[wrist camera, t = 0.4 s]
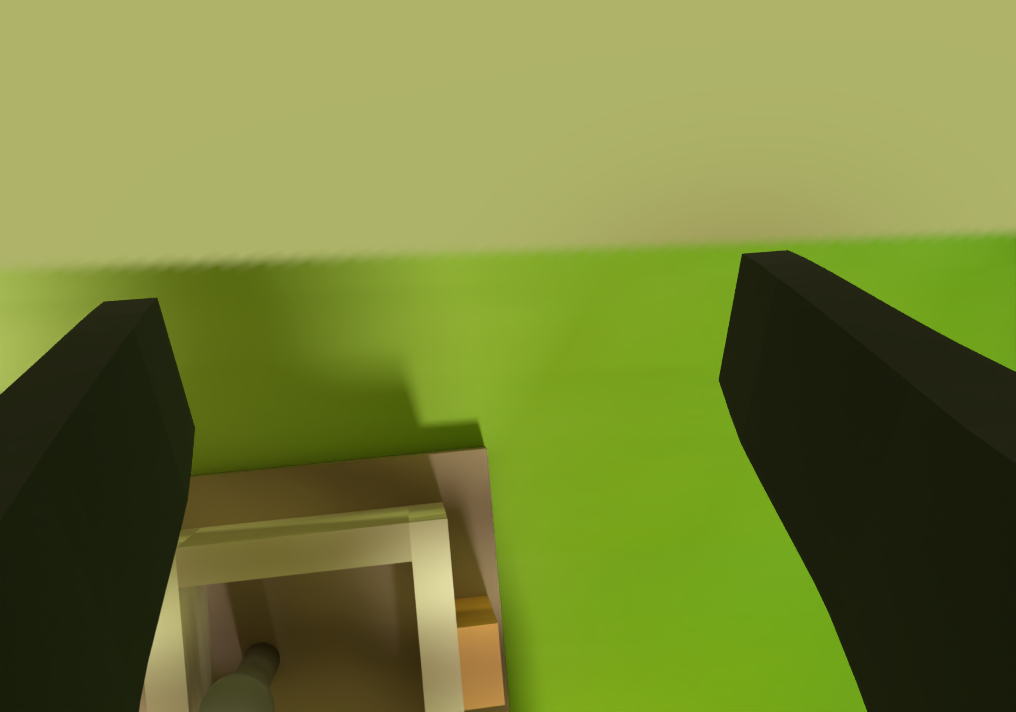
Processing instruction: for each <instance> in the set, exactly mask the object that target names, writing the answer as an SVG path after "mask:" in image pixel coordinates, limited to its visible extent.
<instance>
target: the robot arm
mask: <svg viewBox="0 0 1016 712" xmlns="http://www.w3.org/2000/svg"><path fill="white" fill-rule="evenodd" d="M719 382H720V385H721V388H722V391H723V394H724V397H725V400H726V403H727V406H728V409H729V412H730V415H731V418H732V421H733V423H734V426H735V429H736V431H737V434H738V437H739V439H740V442H741V445H742V446H743V448H744V450H745V452H746V454H747V456H748V458H749V460H750V462H751V464H752V466H753V468H754V470H755V472H756V474H757V476H758V478H759V480H760V482H761V483H762V485H763V487H764V489H765V491H766V493H767V495H768V497H769V499H770V501H771V502H772V504H773V506H774V508H775V510H776V512H777V514H778V515H779V517H780V519H781V521H782V523H783V525H784V527H785V529H786V530H787V532H788V534H789V536H790V538H791V540H792V542H793V544H794V545H795V547H796V549H797V551H798V553H799V555H800V557H801V559H802V560H803V562H804V564H805V566H806V568H807V570H808V572H809V574H810V575H811V577H812V579H813V581H814V583H815V585H816V587H817V589H818V591H819V594H820V596H821V598H822V600H823V602H824V604H825V606H826V608H827V610H828V612H829V615H830V617H831V620H832V622H833V625H834V627H835V630H836V632H837V635H838V637H839V640H840V642H841V645H842V647H843V650H844V652H845V655H846V657H847V660H848V662H849V665H850V667H851V670H852V672H853V675H854V677H855V680H856V682H857V685H858V687H859V690H860V693H861V696H862V698H863V701H864V704H865V706H866V709H867V712H1016V372H1015V371H1013V370H1011V369H1009V368H1007V367H1005V366H1003V365H1001V364H999V363H997V362H995V361H993V360H991V359H989V358H987V357H985V356H983V355H981V354H979V353H977V352H975V351H973V350H971V349H969V348H967V347H965V346H963V345H961V344H959V343H957V342H955V341H953V340H951V339H949V338H948V337H946V336H944V335H942V334H940V333H938V332H936V331H934V330H933V329H931V328H929V327H927V326H925V325H924V324H922V323H920V322H918V321H916V320H914V319H913V318H911V317H909V316H907V315H906V314H904V313H902V312H900V311H898V310H897V309H895V308H893V307H891V306H890V305H888V304H886V303H884V302H883V301H881V300H879V299H877V298H876V297H874V296H872V295H870V294H869V293H867V292H865V291H864V290H862V289H860V288H858V287H857V286H855V285H853V284H851V283H850V282H848V281H846V280H844V279H843V278H841V277H839V276H837V275H836V274H834V273H832V272H830V271H828V270H827V269H825V268H823V267H821V266H819V265H817V264H815V263H814V262H812V261H810V260H808V259H806V258H804V257H802V256H800V255H797V254H795V253H793V252H791V251H788V250H786V251H772V252H759V253H746V254H742V257H741V262H740V268H739V273H738V278H737V284H736V289H735V295H734V300H733V305H732V311H731V316H730V322H729V327H728V332H727V338H726V343H725V348H724V354H723V359H722V365H721V370H720V375H719ZM194 432H195V427H194V423H193V420H192V416H191V413H190V409H189V406H188V402H187V399H186V395H185V392H184V389H183V385H182V382H181V378H180V375H179V371H178V368H177V364H176V361H175V358H174V354H173V351H172V347H171V344H170V340H169V337H168V333H167V330H166V326H165V323H164V320H163V316H162V313H161V309H160V306H159V302H158V299H157V298H147V299H133V300H120V301H107V302H103V303H102V304H100V305H99V306H98V307H97V308H95V309H94V310H93V311H92V312H91V313H89V314H88V315H87V316H86V317H85V318H84V319H83V320H81V321H80V322H79V323H78V324H77V325H76V326H75V327H74V328H73V329H72V330H70V331H69V332H68V333H67V334H66V335H65V336H64V337H63V338H62V339H61V340H60V341H59V342H57V343H56V344H55V345H54V346H53V347H52V348H51V349H50V350H49V351H48V352H47V353H46V354H45V355H43V356H42V357H41V358H40V359H39V360H38V361H37V362H36V363H35V364H34V365H33V366H31V367H30V368H29V369H28V370H27V371H26V372H25V373H24V374H23V375H21V376H20V377H19V378H18V379H17V380H16V381H15V382H14V383H13V384H11V385H10V386H9V387H8V388H7V389H6V390H5V391H4V392H3V393H2V394H0V712H139V708H140V701H141V696H142V691H143V686H144V681H145V676H146V671H147V666H148V661H149V657H150V653H151V649H152V645H153V641H154V637H155V633H156V629H157V625H158V621H159V617H160V613H161V609H162V604H163V600H164V596H165V592H166V588H167V584H168V580H169V576H170V572H171V568H172V564H173V560H174V556H175V552H176V548H177V544H178V540H179V535H180V531H181V527H182V523H183V519H184V514H185V510H186V506H187V501H188V495H189V486H190V476H191V467H192V456H193V444H194Z"/></svg>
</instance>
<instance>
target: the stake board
mask: <svg viewBox="0 0 1016 712" xmlns="http://www.w3.org/2000/svg"><path fill="white" fill-rule="evenodd" d="M439 502H443V505H444V508H445V512H446V516H447V520H448V532H449V543H450V555H451V566H452V577H453V589H454V599H460V598H468V597H476V596H485V595H488V598H489V600H490V603H491V606H492V609H493V611H494V614H495V617H496V620H497V622H498V632H499V643H500V654H501V666H502V677H503V688H504V700H505V705H501V706H494V707H486V708H479V709H471V710H464V712H510V706H509V695H508V683H507V672H506V661H505V649H504V638H503V626H502V615H501V604H500V592H499V581H498V569H497V558H496V547H495V535H494V524H493V513H492V501H491V490H490V478H489V467H488V456H487V448H486V447H475V448H465V449H455V450H444V451H434V452H424V453H414V454H404V455H394V456H384V457H374V458H364V459H354V460H344V461H334V462H324V463H314V464H304V465H293V466H283V467H273V468H263V469H253V470H243V471H233V472H223V473H213V474H203V475H193V476H190V486H189V495H188V501H187V506H186V510H185V514H184V519H183V523H182V527H181V530H185V529H194V528H204V527H213V526H222V525H232V524H241V523H251V522H260V521H270V520H279V519H288V518H298V517H307V516H317V515H326V514H335V513H345V512H354V511H364V510H373V509H383V508H392V507H401V506H411V505H420V504H430V503H439ZM206 589H207V600H208V612H209V623H210V635H211V647H212V658H213V670H214V682H215V683H214V684H213V685H212V686H211V687H210V688H209V690H208V691H207V693H206V694H205V696H204V698H203V699H202V701H201V704H200V707H199V711H198V712H425V702H424V691H423V680H422V668H421V657H420V645H419V634H418V622H417V611H416V599H415V588H414V577H413V565H412V561H411V562H402V563H393V564H384V565H376V566H367V567H358V568H349V569H340V570H332V571H323V572H314V573H305V574H296V575H288V576H279V577H270V578H261V579H252V580H244V581H235V582H226V583H217V584H208V585H206ZM139 712H147V705H146V694H145V682H144V686H143V691H142V696H141V701H140V708H139Z"/></svg>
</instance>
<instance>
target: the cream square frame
mask: <svg viewBox="0 0 1016 712" xmlns="http://www.w3.org/2000/svg"><path fill="white" fill-rule="evenodd" d="M411 561H412V565H413V577H414V588H415V599H416V611H417V622H418V634H419V645H420V657H421V668H422V680H423V691H424V702H425V712H464V710H471V709H479V708H486V707H494V706H501V705H505V700H504V688H503V677H502V666H501V654H500V643H499V632H498V622H497V620H496V617H495V614H494V611H493V609H492V606H491V603H490V600H489V598H488V595H485V596H476V597H468V598H460V599H454V589H453V577H452V566H451V555H450V543H449V532H448V520H447V516H446V512H445V508H444V505H443V502H439V503H430V504H420V505H411V506H401V507H392V508H383V509H373V510H364V511H354V512H345V513H335V514H326V515H317V516H307V517H298V518H288V519H279V520H270V521H260V522H251V523H241V524H232V525H222V526H213V527H204V528H194V529H185V530H181V531H180V535H179V540H178V544H177V548H176V552H175V556H174V560H173V564H172V568H171V572H170V576H169V580H168V584H167V588H166V592H165V596H164V600H163V604H162V609H161V613H160V617H159V621H158V625H157V629H156V633H155V637H154V641H153V645H152V649H151V653H150V657H149V661H148V666H147V671H146V676H145V681H144V682H145V694H146V705H147V712H198V711H199V707H200V704H201V701H202V699H203V698H204V696H205V694H206V693H207V691H208V690H209V688H210V687H211V686H212V685H213V684H214V683H215V682H214V670H213V658H212V647H211V635H210V623H209V612H208V600H207V589H206V585H208V584H217V583H226V582H235V581H244V580H252V579H261V578H270V577H279V576H288V575H296V574H305V573H314V572H323V571H332V570H340V569H349V568H358V567H367V566H376V565H384V564H393V563H402V562H411Z"/></svg>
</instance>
